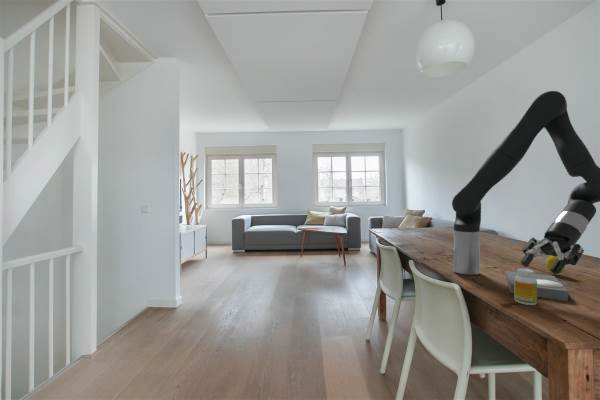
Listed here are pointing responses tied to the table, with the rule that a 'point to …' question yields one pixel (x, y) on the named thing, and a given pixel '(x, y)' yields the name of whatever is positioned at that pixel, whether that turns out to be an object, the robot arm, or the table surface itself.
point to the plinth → (542, 286)
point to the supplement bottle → (525, 287)
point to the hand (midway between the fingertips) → (537, 268)
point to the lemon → (552, 263)
